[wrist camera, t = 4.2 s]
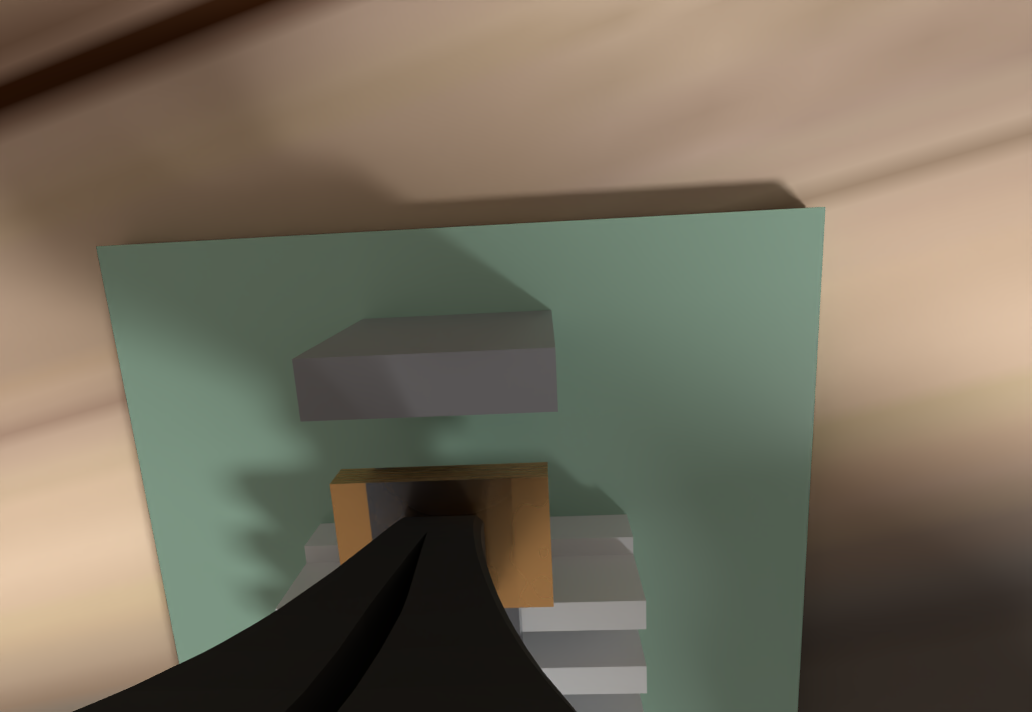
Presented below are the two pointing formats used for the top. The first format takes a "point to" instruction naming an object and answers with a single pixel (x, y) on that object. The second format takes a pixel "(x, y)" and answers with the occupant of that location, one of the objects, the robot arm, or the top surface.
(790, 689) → the heatsink board
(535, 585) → the brown and grey bar
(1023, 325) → the top surface
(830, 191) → the top surface
